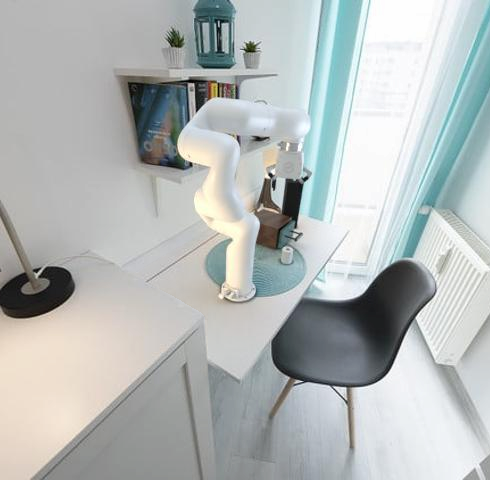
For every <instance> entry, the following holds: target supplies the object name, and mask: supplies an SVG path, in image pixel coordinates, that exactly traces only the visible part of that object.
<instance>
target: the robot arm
mask: <svg viewBox="0 0 490 480" xmlns="http://www.w3.org/2000/svg"><path fill="white" fill-rule="evenodd" d="M311 127H312V119H311V117H310V114H308V112H307V111H306V110H305V109H303V108H298V107H297V108H296V107H291V108H283V107H279V106H275V105H271V104H266V103H260V102H254V101H249V100H245V99H238V98H236V99H235V98H228V97H220V96H219V97H213V98H210V99H208V101H206V102H205V103H204V104H203V105H202V106H201V107H200V108H199V110H197V112H196V113H195V114H194V115H193V116H192V118H191V119H190V120H189V121H188V122H187V124H186V125H185V126H184V128H183V129H181V132H180V133H179V135H178V139H177V151H178V154H179V156H180V157H181V158H182V159H183V160H185V161H187V162H190V163H194V164H196V165H200V166H205V167H209V171H208V174H207V176H206V178H204V181H203V183H202V185H201V186H199V187H198V188H197V190H196V192H195V193H194V198H193V205H194V209H195V212H196V213H197V214H198V215H199V217H200V218H201V219H202V220H203V221H204V223H205V224H206V225H207V226H208V227H209V228H210V229H211V230H213V231H214V232H217V233H219V234H221V235H224V236H227V237H229V238H231V239H232V241H230V243H228V245H227V246H226V250H225V251H226V253H225V255H226V256H225V258H226V259H225V281H224V282H223V283H222V284H221V286H220V287H221V290H220V291H221V292H220V293H219V294H218V298H219V299H220V300H223V299H224V298H226V299H227V300H230V301H233V302H239V303H240V302H241V303H242V302H246V301H249V300H251V299H252V298H253V297H255V296H256V293H257V291H256V290H257V288H256V285H255V284H254V282H253V276H254V263H255V253H256V252H255V251H256V244H257V243H256V239H257V235H258V232H259V228H260V222H259V219H258V218H257V217H256V216H255V213H251V212H250V211H247V209H246V204H245V201H244V199H243V198H242V195H241V193H240V191H239V190H238V189H237V186H236V184H235V183H234V179H235V175H236V172H237V170H238V169H237V168H238V165H239V162H240V158H241V146H240V143H239V142H238V140H237V138H235V137H234V136H244V137H248V136H249V137H266V138H281V140H280V141H277V142H276V143H277V144H276V145H277V146H278V147H280V148H278V151H277V155H276V159H275V163H274V164H271V165H269V166H267V167H266V168H265V171H266V173H267V176H268V177H269V179H270V180H271V189H272V192H274V191H276V189H277V178H279V179H286V178H288V179H298V180H299V181H300V182H299V188H298V194H300V191H302V186H303V183H304V184H305V183H306V182H307V181H308V180H309V179H310V178H311V176H312V175H313V171H312V170H310V169H309V168H307V167H305V166H304V164H305V163H304V162H305V151H304V149H303V145H304V138H305V137H306V136H307V135H308V134H309V132H310V130H311ZM233 135H234V136H233ZM272 170H274V174H273V173H272ZM303 172H304V173H305V174H306V175H305V176H304V177H303ZM303 187H304V186H303ZM302 192H303V191H302Z"/></svg>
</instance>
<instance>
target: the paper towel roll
mask: <svg viewBox="0 0 490 480" xmlns="http://www.w3.org/2000/svg"><path fill="white" fill-rule="evenodd" d="M293 256H294V248H292V247H291V246H283V247H282V248H281V256H280V263H282V264H284V265H290V264H291V263H292V262H293Z"/></svg>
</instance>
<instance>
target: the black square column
mask: <svg viewBox="0 0 490 480" xmlns="http://www.w3.org/2000/svg"><path fill="white" fill-rule="evenodd" d="M284 179H285V180H284V189H283V196H282V205H281V213H280V214H282V215H285V216H289V217H292V219H291V221H293V220H294V221H295V226H294V229H297V228H298V223H299V216H300V209H301V202H302V197H303V191H304V184H305V182H304V183H303V186H302V191H300V194H298V188H299V182H300V181H299V180H298V179H288V178H284Z"/></svg>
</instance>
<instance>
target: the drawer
mask: <svg viewBox="0 0 490 480" xmlns="http://www.w3.org/2000/svg"><path fill="white" fill-rule="evenodd" d="M294 226H295V221H294V220H293V221H291V222H290V223H289V221H288V222H287V223H286V224H285V225H284V226H282V227H281V228H280V229H279V230H278V237H277V245H278V244H279V245H278V247H277V248H278V249H281V250H282V248H283V247H285V245H286V244H287V243H288V242H289V241H290V240H293V241H294V242H297V241H299V240H300V239H301V238H302V236H303V235H304V233H303V232H298V231H295V228H294ZM294 234H297V235H296V237H294Z"/></svg>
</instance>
